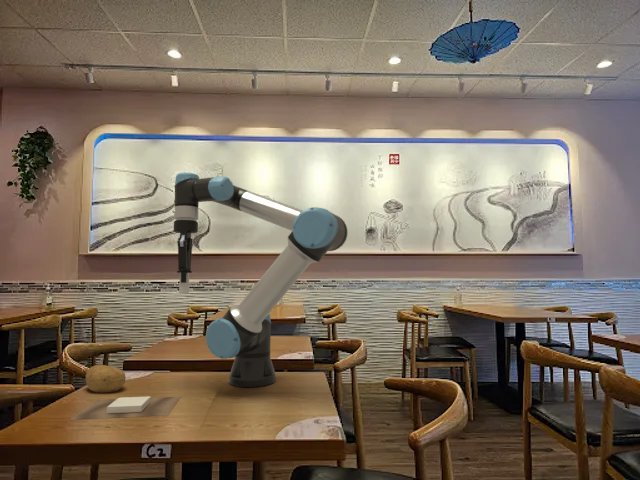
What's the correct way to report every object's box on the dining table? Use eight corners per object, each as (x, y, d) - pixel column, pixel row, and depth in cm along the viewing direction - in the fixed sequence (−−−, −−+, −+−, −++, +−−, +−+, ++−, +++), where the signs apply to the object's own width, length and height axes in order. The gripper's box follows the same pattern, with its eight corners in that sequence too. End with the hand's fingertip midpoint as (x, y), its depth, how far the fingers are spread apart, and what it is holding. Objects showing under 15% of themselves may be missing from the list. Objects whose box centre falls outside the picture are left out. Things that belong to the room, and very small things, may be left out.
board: (181, 400, 113) (181, 396, 113) (167, 420, 97) (167, 415, 97) (97, 404, 110) (97, 399, 110) (69, 425, 94) (69, 419, 94)
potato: (102, 401, 113) (103, 372, 114) (76, 394, 120) (77, 366, 121) (134, 393, 121) (135, 365, 122) (108, 386, 128) (109, 360, 129)
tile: (150, 396, 108) (141, 405, 100) (150, 402, 107) (141, 412, 99) (118, 397, 106) (106, 407, 99) (118, 404, 106) (106, 414, 98)
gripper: (178, 223, 138) (176, 292, 136) (169, 217, 126) (166, 294, 123) (201, 223, 139) (199, 292, 137) (194, 217, 127) (192, 293, 124)
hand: (183, 293), depth 130 cm, fingers closed
